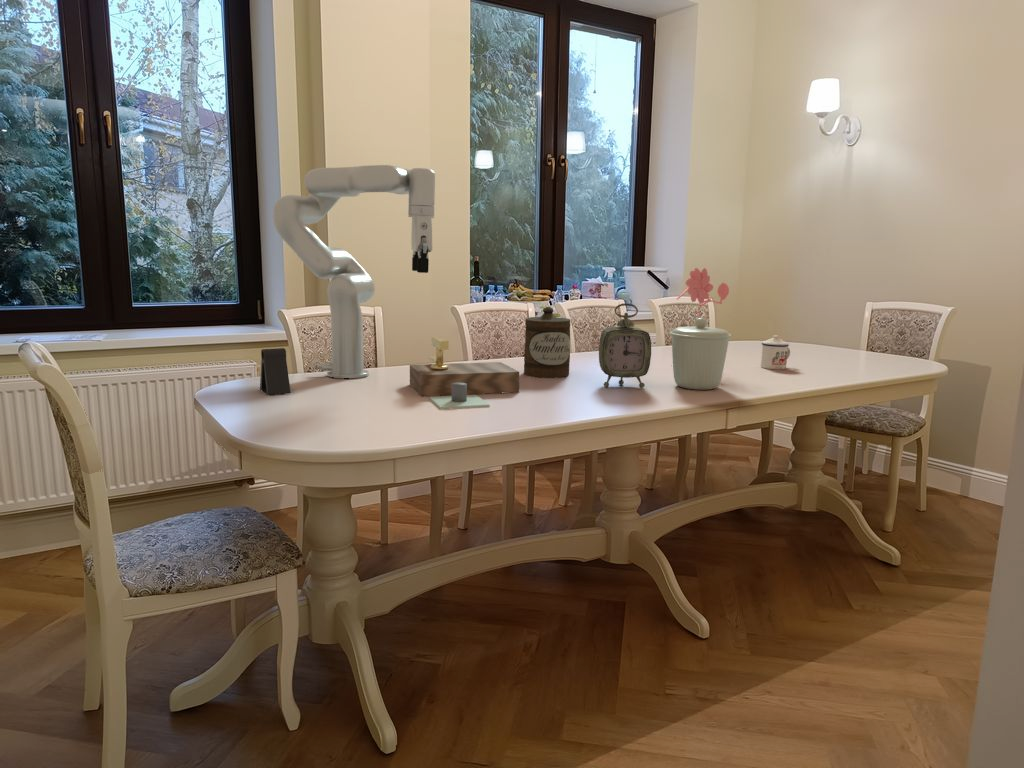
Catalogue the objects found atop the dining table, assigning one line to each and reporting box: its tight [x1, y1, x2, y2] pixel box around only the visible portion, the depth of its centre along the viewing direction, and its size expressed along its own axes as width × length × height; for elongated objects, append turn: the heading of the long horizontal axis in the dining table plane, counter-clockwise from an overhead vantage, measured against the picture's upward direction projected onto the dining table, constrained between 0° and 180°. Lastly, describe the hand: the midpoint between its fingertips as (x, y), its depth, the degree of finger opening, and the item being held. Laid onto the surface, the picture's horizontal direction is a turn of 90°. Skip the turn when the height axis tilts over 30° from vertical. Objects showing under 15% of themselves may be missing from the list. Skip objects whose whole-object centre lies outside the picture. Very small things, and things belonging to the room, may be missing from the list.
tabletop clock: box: [598, 303, 652, 389], centre depth 223 cm, size 14×9×25 cm, turn 92°
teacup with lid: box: [760, 334, 791, 371], centre depth 266 cm, size 12×9×12 cm
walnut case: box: [409, 361, 520, 398], centre depth 215 cm, size 28×18×6 cm, turn 108°
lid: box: [429, 383, 491, 410], centre depth 196 cm, size 13×13×6 cm
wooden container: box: [523, 306, 571, 379], centre depth 242 cm, size 15×15×22 cm
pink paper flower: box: [676, 267, 730, 327], centre depth 262 cm, size 15×26×35 cm, turn 28°
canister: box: [669, 317, 732, 391], centre depth 224 cm, size 18×18×21 cm
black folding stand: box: [259, 347, 291, 396], centre depth 204 cm, size 9×6×12 cm, turn 32°
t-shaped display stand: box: [427, 336, 449, 370], centre depth 214 cm, size 15×5×8 cm, turn 20°
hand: (420, 271), depth 220 cm, fingers open, 9 cm apart
